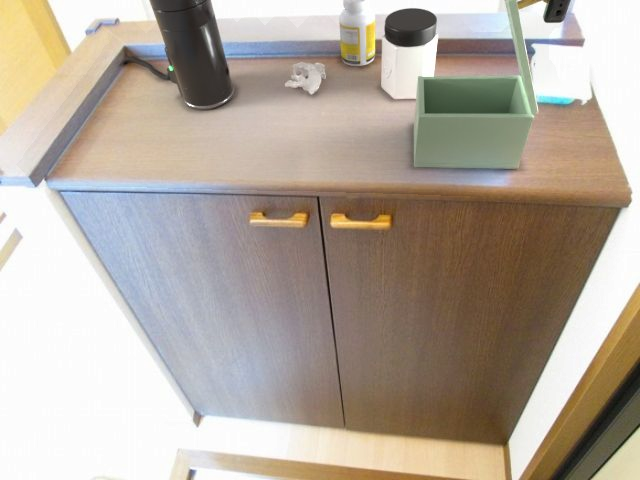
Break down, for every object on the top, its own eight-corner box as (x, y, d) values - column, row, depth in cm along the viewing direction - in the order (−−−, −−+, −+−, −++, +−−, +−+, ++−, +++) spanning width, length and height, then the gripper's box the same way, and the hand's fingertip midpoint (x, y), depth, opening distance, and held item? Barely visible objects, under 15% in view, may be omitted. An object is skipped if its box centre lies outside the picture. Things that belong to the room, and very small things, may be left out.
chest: (414, 167, 68) (418, 116, 62) (413, 125, 75) (417, 76, 68) (517, 169, 66) (534, 117, 59) (508, 126, 72) (522, 75, 66)
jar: (373, 82, 84) (374, 15, 75) (412, 69, 86) (417, 2, 76) (399, 106, 78) (403, 37, 69) (440, 92, 80) (449, 22, 71)
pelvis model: (291, 54, 85) (326, 51, 84) (296, 75, 89) (330, 73, 87) (281, 77, 80) (319, 74, 79) (287, 98, 83) (323, 96, 82)
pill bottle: (375, 50, 91) (375, -12, 82) (374, 67, 87) (374, 4, 78) (342, 51, 92) (339, -11, 83) (340, 68, 88) (336, 5, 79)
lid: (508, 2, 49) (562, -20, 47) (497, -35, 56) (543, -56, 53) (531, 115, 59) (577, 101, 57) (520, 73, 66) (560, 59, 63)
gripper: (547, -196, 46) (506, -15, 59) (580, -166, 37) (523, 40, 50) (628, -201, 45) (568, -16, 58) (683, -172, 36) (597, 40, 49)
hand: (548, 9), depth 54 cm, fingers closed on lid, 5 cm apart
